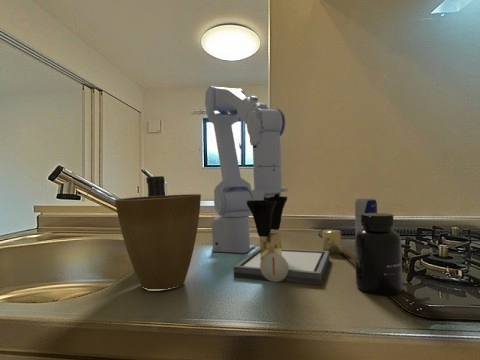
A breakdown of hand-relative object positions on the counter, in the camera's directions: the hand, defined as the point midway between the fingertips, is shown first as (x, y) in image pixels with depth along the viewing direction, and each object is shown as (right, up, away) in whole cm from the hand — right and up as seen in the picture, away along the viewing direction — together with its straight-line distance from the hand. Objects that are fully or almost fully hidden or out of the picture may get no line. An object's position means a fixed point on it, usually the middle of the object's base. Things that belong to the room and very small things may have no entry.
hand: (269, 232), depth 63 cm
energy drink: (+27, -6, +16) cm, 32 cm away
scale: (+3, -7, -1) cm, 8 cm away
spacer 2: (+16, -7, +11) cm, 21 cm away
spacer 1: (0, -5, 0) cm, 5 cm away
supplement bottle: (+16, -7, -14) cm, 23 cm away
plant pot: (-20, -8, -8) cm, 23 cm away
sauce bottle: (-25, -8, +8) cm, 27 cm away
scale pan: (+3, -6, -1) cm, 7 cm away
